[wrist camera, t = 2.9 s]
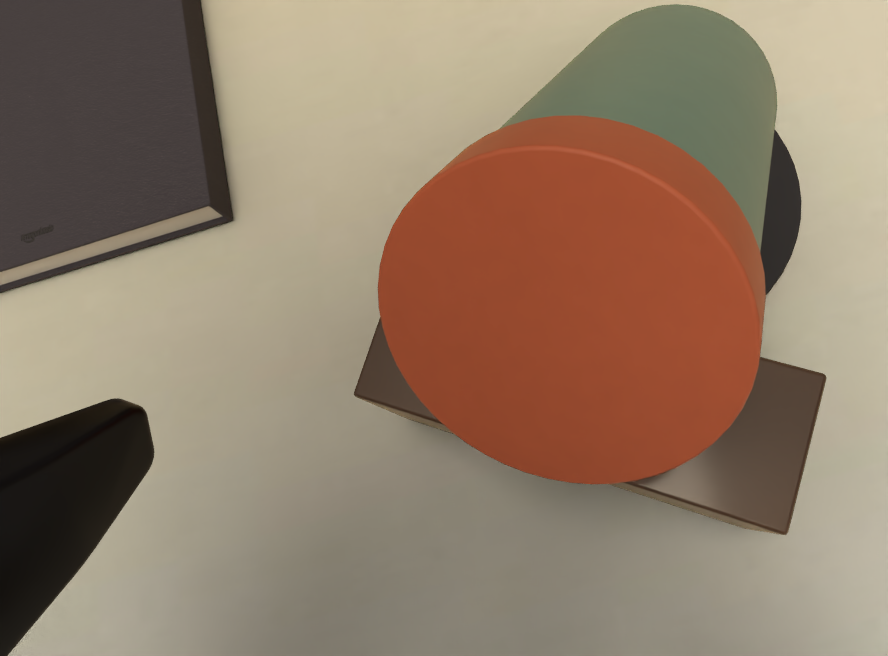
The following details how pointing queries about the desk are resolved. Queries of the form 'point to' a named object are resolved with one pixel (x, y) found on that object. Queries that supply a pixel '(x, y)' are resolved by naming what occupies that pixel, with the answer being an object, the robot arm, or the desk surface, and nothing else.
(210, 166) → the notebook
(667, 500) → the block
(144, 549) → the desk surface
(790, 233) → the coaster
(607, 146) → the container
